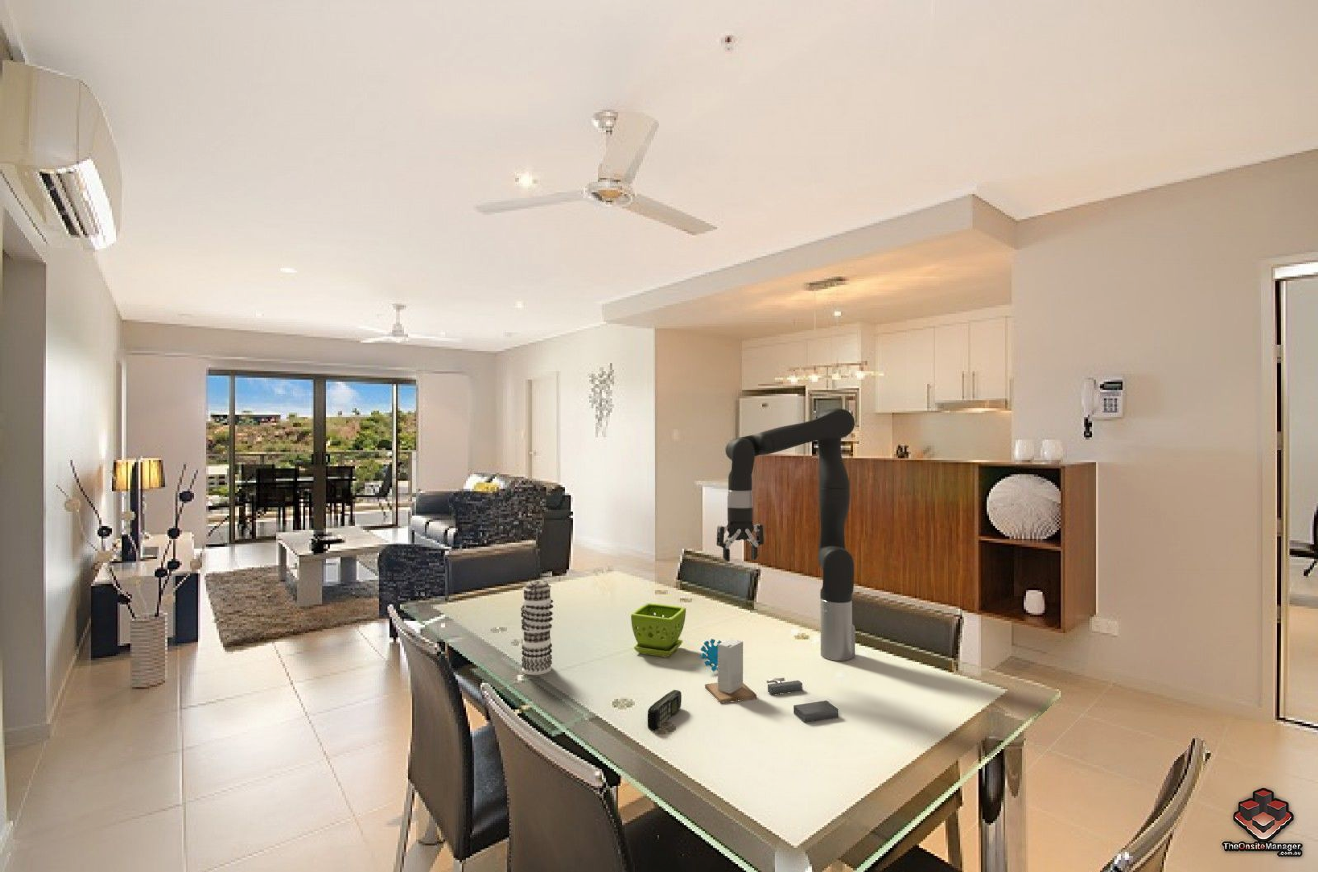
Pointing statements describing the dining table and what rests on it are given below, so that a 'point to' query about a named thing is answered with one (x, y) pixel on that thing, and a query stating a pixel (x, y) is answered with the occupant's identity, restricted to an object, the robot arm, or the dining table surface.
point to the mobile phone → (664, 709)
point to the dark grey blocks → (804, 711)
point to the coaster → (735, 696)
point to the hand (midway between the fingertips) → (740, 560)
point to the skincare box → (730, 665)
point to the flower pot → (658, 628)
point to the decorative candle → (536, 628)
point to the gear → (710, 653)
